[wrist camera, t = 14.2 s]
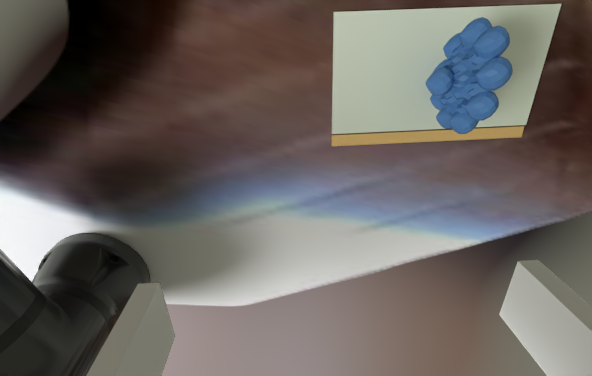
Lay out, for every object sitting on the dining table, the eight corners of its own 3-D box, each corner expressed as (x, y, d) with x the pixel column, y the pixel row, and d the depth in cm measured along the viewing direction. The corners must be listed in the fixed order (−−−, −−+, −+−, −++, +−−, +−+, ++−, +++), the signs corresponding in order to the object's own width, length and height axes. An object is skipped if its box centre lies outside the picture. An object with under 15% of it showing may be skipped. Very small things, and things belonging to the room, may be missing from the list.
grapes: (410, 21, 36) (466, 16, 25) (468, 18, 36) (549, 12, 25) (400, 122, 41) (443, 154, 30) (451, 119, 41) (512, 150, 30)
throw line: (331, 145, 43) (331, 146, 42) (331, 134, 42) (332, 135, 42) (519, 136, 43) (521, 137, 43) (523, 125, 43) (524, 126, 42)
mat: (331, 132, 42) (332, 134, 41) (333, 12, 36) (334, 11, 35) (523, 123, 43) (526, 124, 42) (558, 4, 36) (561, 3, 36)
